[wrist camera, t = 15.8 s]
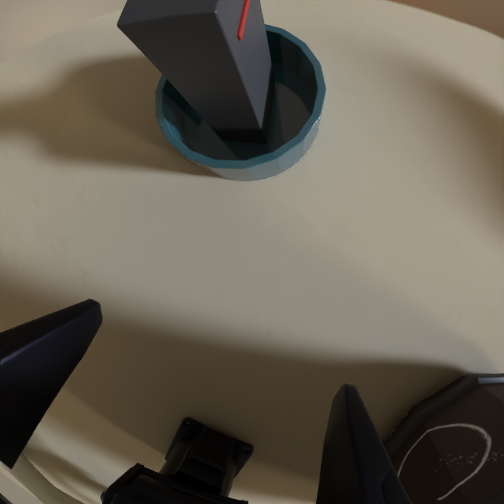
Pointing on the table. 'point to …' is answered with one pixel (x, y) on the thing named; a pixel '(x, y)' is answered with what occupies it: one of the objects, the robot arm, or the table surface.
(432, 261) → the table surface
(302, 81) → the teal shallow round dish
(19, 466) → the flower vase
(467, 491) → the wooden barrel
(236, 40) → the black rectangular box
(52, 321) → the robot arm
